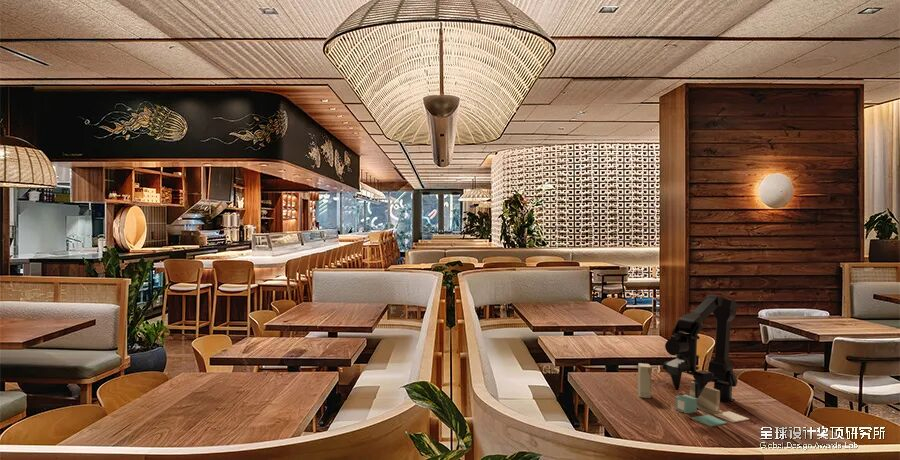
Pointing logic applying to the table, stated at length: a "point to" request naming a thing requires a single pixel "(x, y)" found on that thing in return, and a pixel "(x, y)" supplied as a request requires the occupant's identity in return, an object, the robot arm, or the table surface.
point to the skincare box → (644, 380)
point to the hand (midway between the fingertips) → (686, 394)
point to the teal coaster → (709, 420)
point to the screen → (707, 399)
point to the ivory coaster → (731, 416)
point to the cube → (686, 404)
